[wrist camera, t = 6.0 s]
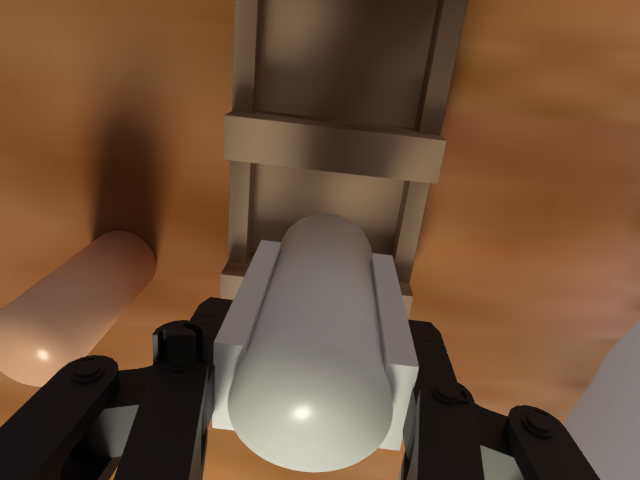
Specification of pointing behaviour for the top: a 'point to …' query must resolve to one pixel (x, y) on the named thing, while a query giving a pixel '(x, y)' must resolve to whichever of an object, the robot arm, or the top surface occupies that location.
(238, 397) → the plug grey
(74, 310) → the plug terracotta
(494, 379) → the top surface
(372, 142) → the comb rack
